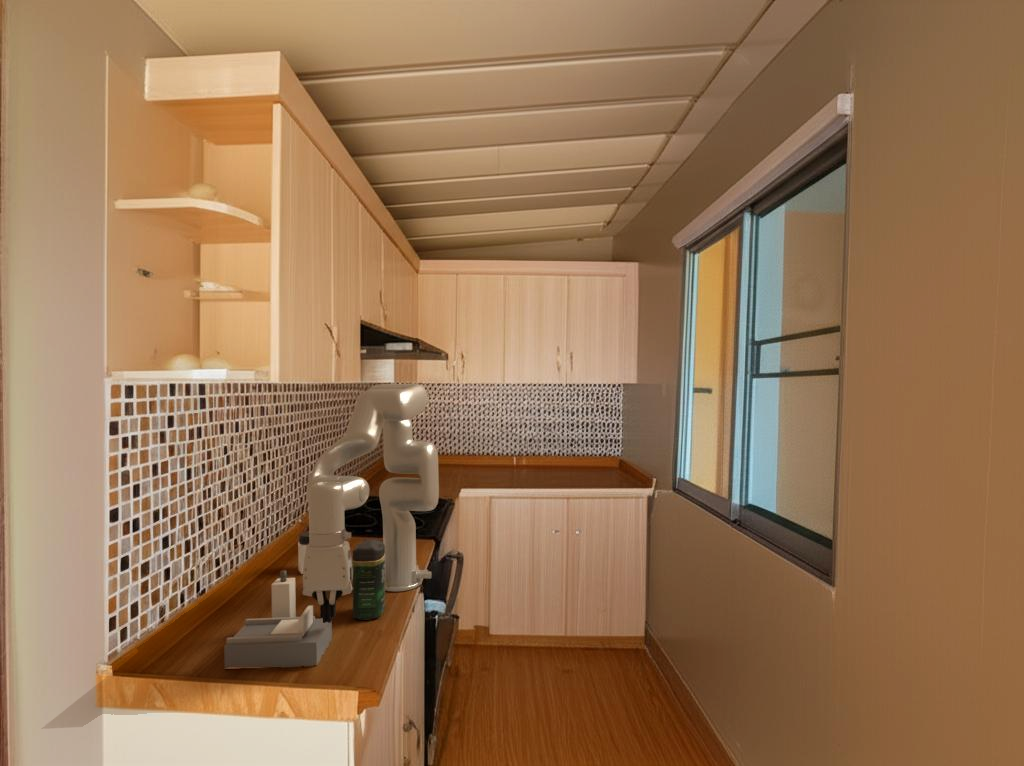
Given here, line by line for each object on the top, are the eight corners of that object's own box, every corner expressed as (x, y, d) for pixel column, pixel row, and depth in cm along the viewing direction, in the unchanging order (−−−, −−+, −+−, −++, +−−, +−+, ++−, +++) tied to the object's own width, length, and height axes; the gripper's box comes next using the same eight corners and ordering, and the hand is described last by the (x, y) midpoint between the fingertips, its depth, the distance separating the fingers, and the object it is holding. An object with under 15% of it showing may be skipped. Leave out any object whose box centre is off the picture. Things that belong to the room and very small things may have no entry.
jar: (294, 575, 172) (293, 537, 172) (302, 566, 180) (302, 530, 180) (322, 574, 172) (322, 536, 172) (330, 565, 181) (329, 529, 181)
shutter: (313, 622, 126) (312, 605, 126) (303, 636, 119) (303, 618, 119) (281, 623, 125) (281, 606, 125) (270, 637, 118) (270, 620, 118)
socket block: (331, 639, 129) (331, 613, 129) (316, 665, 117) (316, 637, 117) (248, 642, 127) (248, 617, 127) (224, 669, 115) (224, 641, 115)
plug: (295, 626, 136) (295, 568, 136) (290, 633, 132) (289, 573, 132) (278, 626, 136) (277, 568, 136) (272, 634, 132) (271, 574, 132)
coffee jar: (381, 620, 138) (380, 547, 138) (349, 622, 138) (348, 548, 138) (388, 605, 148) (387, 536, 148) (358, 606, 148) (357, 537, 147)
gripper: (364, 532, 127) (365, 611, 127) (298, 534, 126) (299, 614, 126) (357, 542, 119) (358, 626, 119) (287, 544, 118) (288, 629, 118)
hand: (328, 620), depth 123 cm, fingers closed
